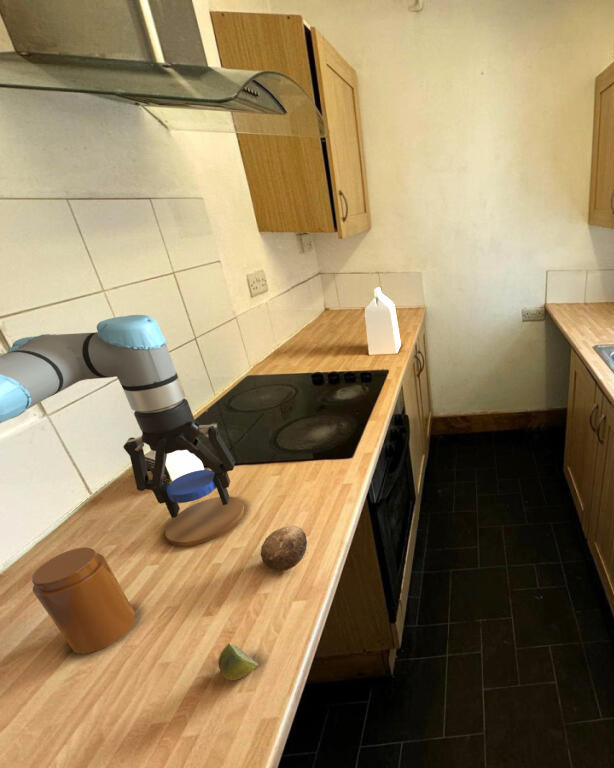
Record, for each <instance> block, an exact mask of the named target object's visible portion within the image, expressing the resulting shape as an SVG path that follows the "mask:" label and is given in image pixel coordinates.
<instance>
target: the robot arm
mask: <svg viewBox="0 0 614 768" xmlns="http://www.w3.org/2000/svg"><path fill="white" fill-rule="evenodd" d="M167 344H168V343H167V339H166V337H165V336H164V334H163V333H162V330H161V328H160V325H159V323H158V321H157V320H156V319H155V318H154V317H152V316H150V315H146V314H129V315H124V316H123V315H122V316H121V315H120V316H115V317H110V318H107V319H104V320H100V321H99V322H98V323H97V325H96V331H95V332H79V333H61V334H60V333H58V334H54V333H53V334H50V333H46V334H45V333H44V334H40V335H35V336H29V337H28V336H26V337H21V338H19V339H17V340H15V341H13V343H12V346H11V347H10V348H8V349H7V351H6V353H3V354H1V355H0V424H2V423H5V422H6V421H9V420H12V419H14V418H17V417H19V416H21V415H22V414H24V413H25V412H26V411H27V410H29V409H31V408H33V407H34V406H36V405H38V404H39V403H41V402H43V401H45V400H46V399H48V398H50V397H53V396H55V395H57V394H58V393H60V392H62V391H64V390H66V389H68V388H70V387H72V386H73V385H75V384H76V383H79V382H82V381H86V380H97V379H109V378H117V379H118V382H119V384H120V385H121V387H122V390H123V393H124V394H125V398H126V399H127V402H128V404H129V407H130V410H132V411H134V413H133V416H134V418H135V420H136V422H137V425H138V428H139V430H140V431H141V433H142V434H141V436H138V437H133V436H132V437H129V438H127V440H126V442H125V443H124V444H123V446H122V447H123V449H124V450H125V452H126V453H127V454H128V456H129V459H130V463H131V467H132V472H133V477H134V481H135V482H134V483H135V485H136V490H137V491H139V492H143V491H145V490H148V491H149V490H150V491H152V492H153V494H154V496H155V498H156V501H157V503H158V504H165V506H166V508H167V511H168V513H169V515H170V517H171V519H173V518H175V517H177V515H178V514H179V513H180V509H181V508H180V505H179V503H175V502H172V501H171V500H169V497H168V495H167V491H166V489H167V487H168V485H169V482H164V483H162V481H163V476H164V470H165V464H166V458H167V454H168V453H172V452H175V451H183V450H187V451H188V452H190V453H191V454H194V455H195V456H196V457H197V458H198V459H200V460H201V461H202V464H203V465H205V466H206V467H207V468H209V470H211V471H213V472H214V473H215V474H214V477H213V480H214V482H215V485H216V491H217V492H218V493H217V494H218V495H219V496H218V497H220V498H221V501H222V504H223V505H226V504H228V500H229V497H230V494H229V491H228V488H229V487H230V483H231V480H230V477H229V474H228V472H231V471H233V470H234V468H235V465H236V460H235V458H234V457H233V455H232V453H231V451H230V450H229V448H228V446H227V445H226V443H225V441H224V439H223V437H222V436H221V434H220V433H219V424H218V423H217V422H215V421H213V422H211V423H210V424H200V423H198V422H197V420H196V419H195V418H194V414H193V412H192V408H191V407H190V404H189V401H188V399H186V398H185V397H186V394H185V391H184V388H183V385H182V382H181V380H180V377H179V375H178V372H177V370H176V367H175V365H174V362H173V360H172V357H171V354H170V351H169V348H168V345H167ZM200 433H202V434H203V435H204V437H205V438H208V441H209V443H210V445H211V446H212V448H213V450H214V451H215V453H216V454H217V456H218V457H217V456H216V455H215V454H214V453H212V452H211V450H210V449H208V448H207V447H206V446H205V445H204V444H203V443H202V441H201V439H199V438H198V435H199V434H200ZM145 445H148V447H150V446H151V447H153V448H155V449H156V454H155V464H154V471H153V475H152V478H151V479H150V476H149V471H148V467H147V466H148V465H147V462H146V459H145V456H144V455H145V451H144V447H145Z"/></svg>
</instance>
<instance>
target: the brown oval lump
mask: <svg viewBox="0 0 614 768" xmlns="http://www.w3.org/2000/svg"><path fill="white" fill-rule="evenodd" d="M307 546H308V539H307V535H306V533H305V531H304V530H303V529H302V527H300V526H297V525H294V524H293V525H291V524H290V525H287V526H283V527H280V528H278V529H275V530H274V531H273V532H272V533H270V534H269V535H268V536H267V537H265V539H264V541H263V543H262V545H261V547H260V558H261V560H262V563H263V564H264V565H265V567H267V568H268V569H270V570H273V571H277V572H286V571H289V570H291V569H292V568H295V567H296V566H297V565H298V564H299V563H300V562H301V561H302V560H303V558H304V556H305V553H306V551H307Z"/></svg>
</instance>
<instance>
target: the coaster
mask: <svg viewBox="0 0 614 768" xmlns="http://www.w3.org/2000/svg"><path fill="white" fill-rule="evenodd" d="M244 513H245V507H244V503H243V502H242V500H241V499H239V498H237V497H234V496H229V500H228V504H226V505H223V504H222V501H221V498H220V496H217V497H212V498H208V499H204V500H202V501H200V502H196V503H194V504H192V505H190V506H188V507H186V508H184V509H183V510H182V511H179V512H178V515H177V517H175V518H171V520H170V521H169V522H168V524H167V525H166V527H165V531H164V535H165V537H166V539H167V541H168V542H169V543H170V544H172V545H174V546H178V547H179V546H180V547H190V546H191V547H192V546H195V545H201V544H203V543H207V542H210V541H212V540H215V539H216V538H219V537H220V536H222V535H225V534H226V533H227V532H228V531H231V529H233V528H234V527H235V526H236V525H237V524H238V523H239V522H240V521H241V520H242V518H243V516H244Z"/></svg>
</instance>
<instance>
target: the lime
mask: <svg viewBox="0 0 614 768" xmlns="http://www.w3.org/2000/svg"><path fill="white" fill-rule="evenodd" d="M217 664H218V669H219V674H220V675H221V676H222V677H223V678H225V679H227V680H229V681H237V680H239V679H242V678H244V677H247V676H248V675H250V674H251V673H253V672H254V671H255V670H256V669H257V667H258V666H259V663H258V662H257V661H255V660H254V658H252V657H251V656H250V655H248V654H247V653H245V652H244V651H243V650H242V649H241V648H240V647H238V646H236V645H235V644H233V643H231V642H229V643H227V644H226V646H224V647H223V649H222V650H221V652H220V654H219V656H218V661H217Z"/></svg>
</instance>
